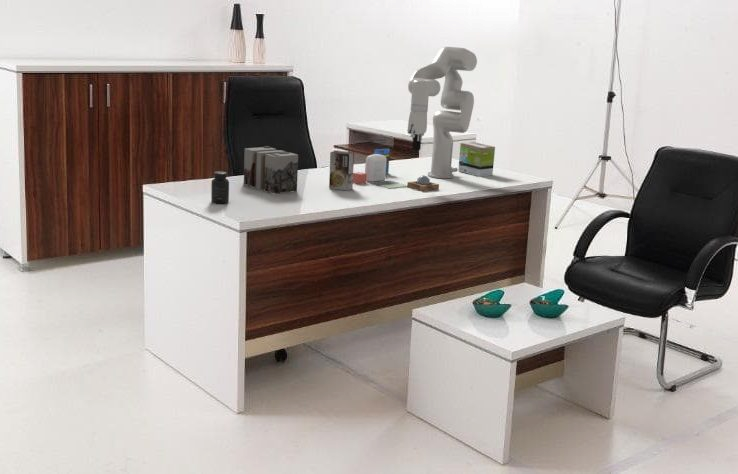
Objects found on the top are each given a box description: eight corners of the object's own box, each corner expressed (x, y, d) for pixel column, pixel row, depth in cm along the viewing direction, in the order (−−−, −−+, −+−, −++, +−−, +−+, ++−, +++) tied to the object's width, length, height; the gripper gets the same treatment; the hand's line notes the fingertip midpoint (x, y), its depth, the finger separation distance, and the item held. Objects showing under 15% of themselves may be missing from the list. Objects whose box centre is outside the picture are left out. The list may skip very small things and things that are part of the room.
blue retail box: (384, 172, 442) (385, 147, 439) (388, 173, 439) (390, 148, 436) (368, 173, 437) (370, 147, 434) (372, 174, 434) (374, 149, 431)
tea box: (457, 171, 455) (459, 142, 452) (471, 170, 462) (473, 141, 458) (479, 177, 444) (482, 147, 441) (493, 175, 451) (495, 146, 447)
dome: (423, 185, 411) (424, 174, 410) (431, 187, 407) (432, 176, 405) (414, 186, 407) (415, 174, 406) (422, 188, 403) (423, 177, 402)
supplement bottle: (211, 200, 359) (212, 170, 356) (229, 201, 359) (229, 171, 356) (210, 204, 352) (210, 173, 349) (228, 204, 353) (228, 174, 350)
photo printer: (381, 179, 423) (383, 153, 420) (386, 181, 420) (388, 154, 417) (362, 180, 418) (364, 154, 415) (368, 182, 414) (369, 155, 411)
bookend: (268, 181, 404) (269, 145, 400) (301, 191, 386) (303, 153, 382) (237, 184, 394) (238, 147, 390) (270, 195, 376) (272, 156, 372)
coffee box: (353, 188, 398) (355, 152, 394) (347, 191, 392) (349, 154, 388) (333, 186, 401) (335, 149, 397) (328, 188, 395) (330, 151, 391)
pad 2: (399, 184, 414) (400, 183, 414) (409, 186, 410) (409, 185, 410) (379, 186, 407) (379, 185, 407) (389, 188, 402) (389, 187, 402)
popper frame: (423, 185, 414) (423, 180, 414) (438, 189, 407) (439, 184, 406) (407, 187, 408) (407, 182, 407) (422, 191, 400) (422, 186, 400)
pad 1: (389, 181, 420) (390, 180, 420) (399, 183, 415) (399, 182, 415) (369, 183, 412) (370, 182, 412) (379, 185, 407) (379, 185, 407)
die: (358, 181, 415) (358, 171, 414) (366, 183, 412) (366, 173, 411) (352, 182, 411) (352, 172, 410) (360, 184, 409) (360, 174, 408)
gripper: (419, 106, 409) (416, 146, 413) (403, 108, 396) (400, 150, 401) (434, 108, 405) (431, 149, 410) (418, 110, 393) (415, 152, 397)
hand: (416, 149), depth 405 cm, fingers closed
